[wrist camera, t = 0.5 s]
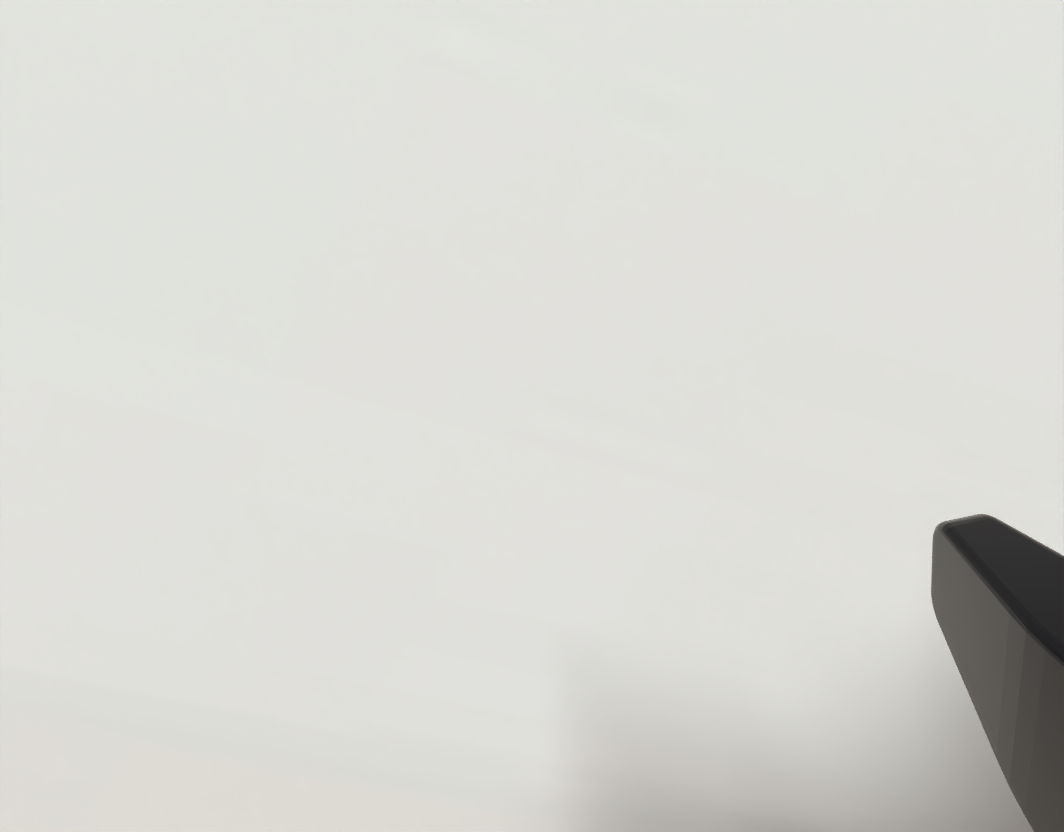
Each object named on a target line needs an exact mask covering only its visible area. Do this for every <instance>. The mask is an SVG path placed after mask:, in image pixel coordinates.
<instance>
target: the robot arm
mask: <svg viewBox="0 0 1064 832" xmlns="http://www.w3.org/2000/svg"><path fill="white" fill-rule="evenodd" d="M931 596H932V603H933V607H934V611H935V615H936V618H937V620H938V623H939V625H940V628H941V630H942V632H943V635H944V637H945V639H946V642H947V644H948V646H949V649H950V651H951V653H952V656H953V658H954V660H955V663H956V665H957V667H958V670H959V672H960V674H961V677H962V679H963V681H964V684H965V686H966V688H967V691H968V693H969V695H970V698H971V700H972V702H973V705H974V707H975V709H976V712H977V714H978V716H979V719H980V721H981V723H982V726H983V728H984V730H985V733H986V735H987V737H988V740H989V742H990V744H991V747H992V749H993V751H994V754H995V756H996V758H997V760H998V763H999V765H1000V767H1001V769H1002V771H1003V774H1004V776H1005V778H1006V780H1007V782H1008V785H1009V787H1010V789H1011V790H1012V792H1013V794H1014V796H1015V798H1016V800H1017V802H1018V804H1019V805H1020V807H1021V809H1022V811H1023V813H1024V815H1025V817H1026V818H1027V820H1028V822H1029V824H1030V825H1031V827H1032V829H1033V831H1034V832H1064V556H1063V555H1061V554H1059V553H1058V552H1056V551H1054V550H1052V549H1050V548H1049V547H1047V546H1045V545H1043V544H1041V543H1040V542H1038V541H1036V540H1034V539H1033V538H1031V537H1029V536H1027V535H1025V534H1024V533H1022V532H1020V531H1018V530H1016V529H1015V528H1013V527H1011V526H1009V525H1007V524H1006V523H1004V522H1002V521H1000V520H998V519H997V518H994V517H992V516H989V515H986V514H978V515H973V516H968V517H963V518H959V519H954V520H949V521H944V522H942V523H940V524H938V526H937V527H936V528H935V531H934V534H933V549H932V583H931Z"/></svg>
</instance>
